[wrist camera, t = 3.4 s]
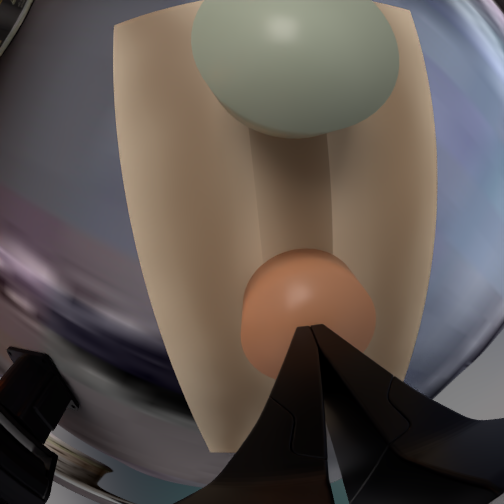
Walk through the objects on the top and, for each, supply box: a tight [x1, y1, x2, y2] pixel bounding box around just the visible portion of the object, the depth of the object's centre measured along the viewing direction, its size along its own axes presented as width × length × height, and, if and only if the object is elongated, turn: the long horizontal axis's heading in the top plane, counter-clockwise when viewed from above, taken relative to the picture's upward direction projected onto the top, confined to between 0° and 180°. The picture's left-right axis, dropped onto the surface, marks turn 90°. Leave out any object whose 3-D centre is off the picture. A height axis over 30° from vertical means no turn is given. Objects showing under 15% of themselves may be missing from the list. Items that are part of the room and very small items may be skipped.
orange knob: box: [241, 248, 376, 379], centre depth 11 cm, size 4×4×5 cm
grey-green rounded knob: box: [191, 0, 399, 139], centre depth 6 cm, size 4×4×5 cm
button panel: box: [113, 0, 437, 452], centre depth 12 cm, size 12×24×3 cm, turn 6°
